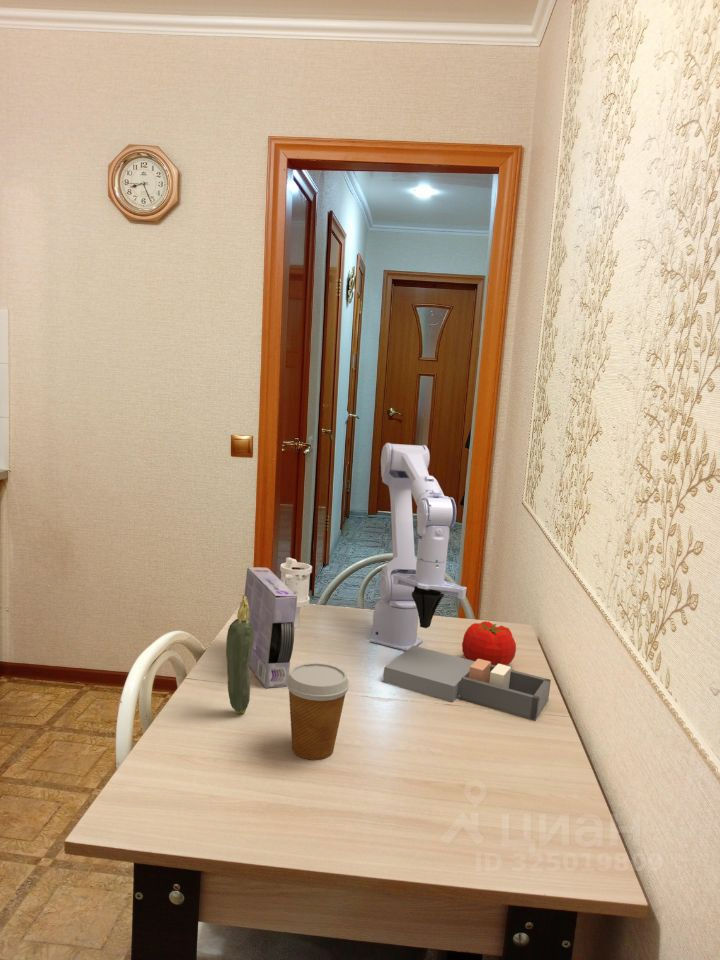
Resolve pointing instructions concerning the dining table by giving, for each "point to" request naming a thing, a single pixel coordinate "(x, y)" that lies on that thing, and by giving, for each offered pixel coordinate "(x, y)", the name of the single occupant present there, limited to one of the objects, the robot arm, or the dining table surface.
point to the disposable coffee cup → (315, 708)
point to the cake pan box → (270, 625)
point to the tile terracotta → (480, 670)
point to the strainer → (297, 583)
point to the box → (509, 694)
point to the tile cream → (500, 675)
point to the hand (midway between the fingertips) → (425, 626)
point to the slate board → (428, 672)
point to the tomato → (489, 643)
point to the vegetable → (239, 658)
